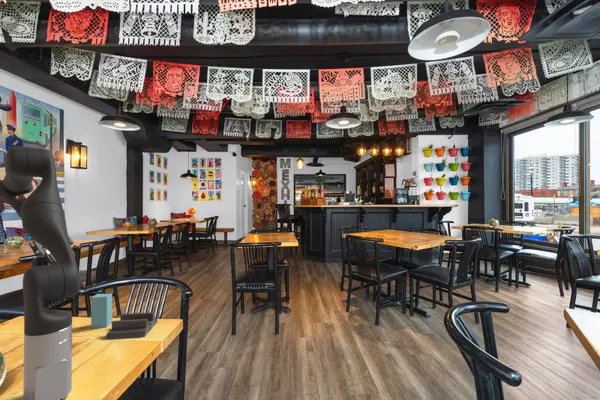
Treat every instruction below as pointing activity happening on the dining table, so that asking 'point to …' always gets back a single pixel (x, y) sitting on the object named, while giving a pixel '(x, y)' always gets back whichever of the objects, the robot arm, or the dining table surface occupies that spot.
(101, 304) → the teal book
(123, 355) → the dining table surface
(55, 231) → the robot arm
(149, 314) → the book stand
